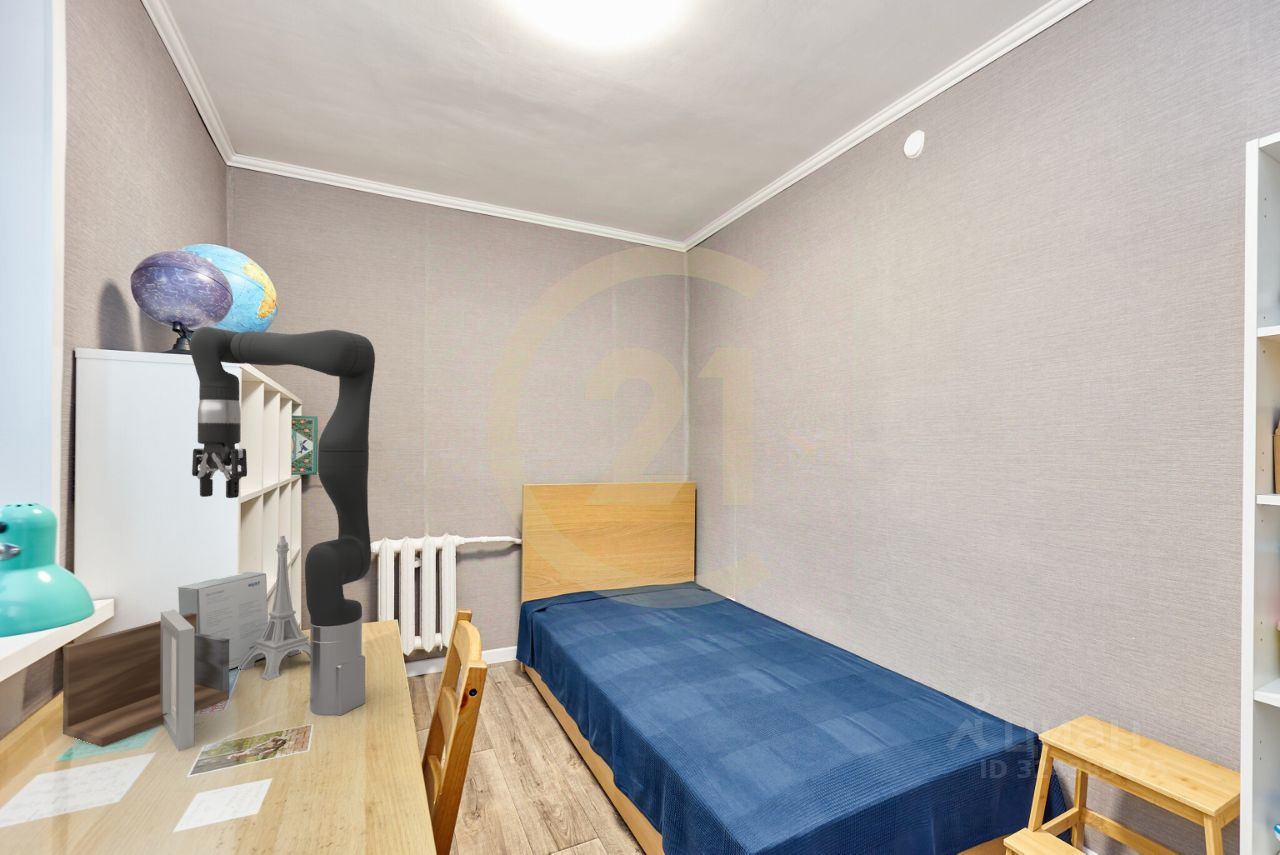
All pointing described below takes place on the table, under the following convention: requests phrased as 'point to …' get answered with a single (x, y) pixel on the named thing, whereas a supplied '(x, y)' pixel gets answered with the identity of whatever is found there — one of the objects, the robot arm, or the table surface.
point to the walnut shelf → (132, 682)
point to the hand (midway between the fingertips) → (219, 497)
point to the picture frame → (177, 678)
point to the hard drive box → (229, 610)
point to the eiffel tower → (279, 625)
